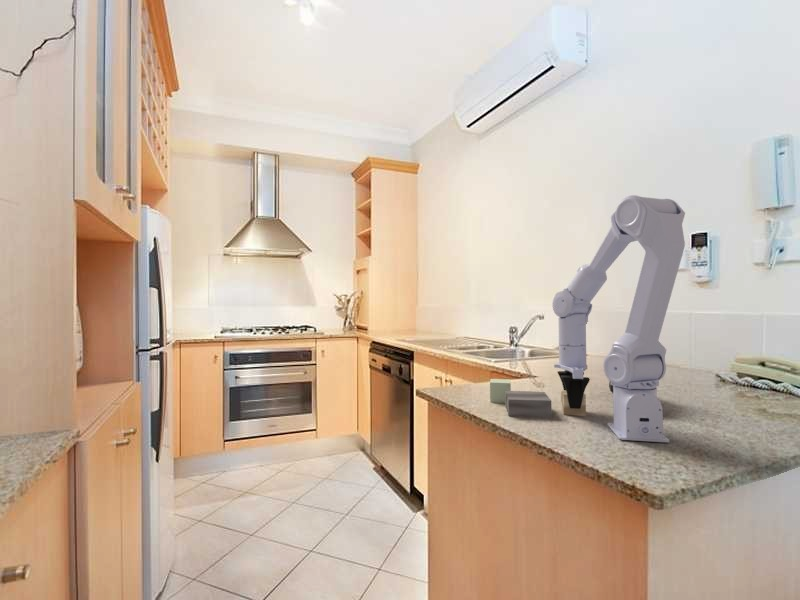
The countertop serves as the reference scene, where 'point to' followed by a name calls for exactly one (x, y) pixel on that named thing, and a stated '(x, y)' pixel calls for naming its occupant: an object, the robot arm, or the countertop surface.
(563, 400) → the birch cube
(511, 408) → the charcoal slab
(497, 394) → the sage cube
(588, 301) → the robot arm
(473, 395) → the countertop surface
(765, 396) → the countertop surface
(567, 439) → the countertop surface
